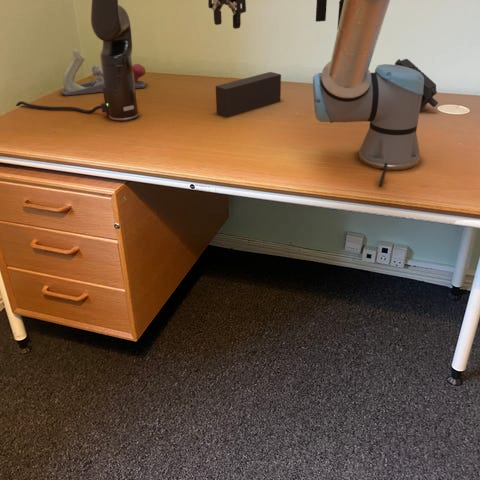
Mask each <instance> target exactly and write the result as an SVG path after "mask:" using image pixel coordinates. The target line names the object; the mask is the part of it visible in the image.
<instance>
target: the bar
mask: <svg viewBox="0 0 480 480" xmlns="http://www.w3.org/2000/svg"><path fill="white" fill-rule="evenodd" d="M281 89H282V74H280V73H276V72H273V71H269V72H264V73H260V74H256V75H252V76H249V77H245V78H241V79H237V80H233V81H230V82H226V83H221V84H219V85H215V101H216V102H215V104H216V105H215V107H216V108H215V109H216V115H218V116H222V117H224V118H230V117H234V116H236V115H239V114H240V115H241V114H244V113H246V112H250V111H254V110H256V109H260V108H262V107H266V106H269V105H272V104H276V103H279V102H281V91H282V90H281Z"/></svg>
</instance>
